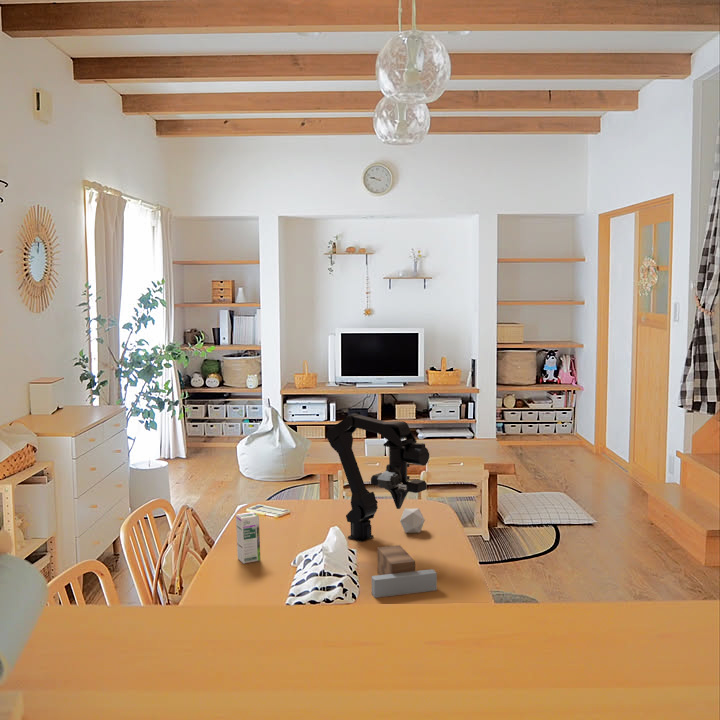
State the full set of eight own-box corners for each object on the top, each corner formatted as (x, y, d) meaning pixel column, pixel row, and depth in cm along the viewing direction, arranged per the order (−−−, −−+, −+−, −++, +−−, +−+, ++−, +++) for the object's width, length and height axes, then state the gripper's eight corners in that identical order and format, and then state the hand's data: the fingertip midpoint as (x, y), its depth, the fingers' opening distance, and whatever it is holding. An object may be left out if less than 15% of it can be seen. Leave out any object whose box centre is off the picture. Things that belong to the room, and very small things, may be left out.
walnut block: (377, 573, 227) (377, 547, 226) (400, 571, 229) (400, 545, 228) (391, 591, 214) (391, 564, 213) (415, 588, 215) (415, 561, 215)
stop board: (371, 593, 212) (371, 576, 212) (433, 586, 217) (432, 569, 216) (374, 597, 209) (374, 580, 209) (436, 590, 214) (436, 573, 213)
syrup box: (243, 564, 236) (241, 518, 234) (237, 558, 241) (235, 513, 240) (260, 560, 238) (259, 515, 237) (254, 555, 244) (253, 510, 242)
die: (417, 539, 259) (431, 514, 261) (395, 525, 260) (409, 501, 262) (415, 539, 267) (428, 515, 269) (393, 527, 268) (407, 502, 270)
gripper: (359, 461, 245) (360, 509, 247) (407, 470, 234) (407, 520, 235) (381, 455, 254) (381, 501, 256) (427, 463, 242) (427, 511, 244)
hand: (398, 508), depth 247 cm, fingers closed
